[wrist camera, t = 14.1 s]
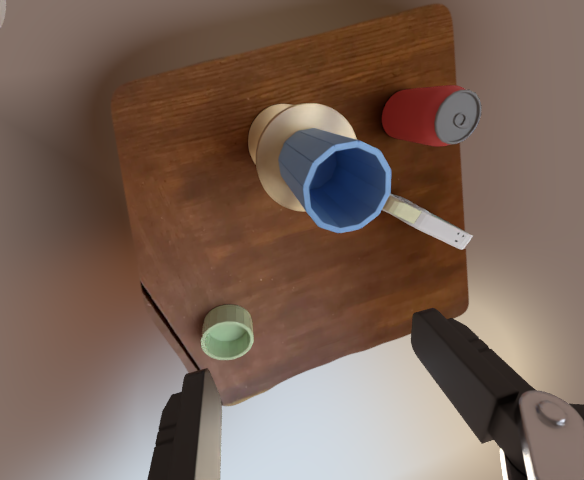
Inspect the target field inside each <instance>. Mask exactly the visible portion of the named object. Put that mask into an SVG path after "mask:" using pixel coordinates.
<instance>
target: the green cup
mask: <svg viewBox="0 0 584 480" xmlns="http://www.w3.org/2000/svg"><path fill="white" fill-rule="evenodd" d="M253 342H254V338H253V326H252V318H251V316H250V314H249V312H248V311H247V310H245V309H244V308H242V307H240V306H237V305H222V306H219V307H216V308H214V309H213V310H211V311H210V312H209V313H208V314H207V315H206V317H205V319H204V323H203V328H202V335H201V347H202V349H203V351H204V352H205V353H206V354H207V355H208V356H210V357H212V358H214V359H218V360H231V359H235V358H238V357H240V356H242V355H244V354H246V353H247V352H248V351H249V350H250V348H251V346H252V344H253Z"/></svg>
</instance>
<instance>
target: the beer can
mask: <svg viewBox="0 0 584 480" xmlns="http://www.w3.org/2000/svg"><path fill="white" fill-rule="evenodd" d="M480 116H481V103H480V99H479V97H478V96H477V95H476V93H475V92H472V91H470V90H466V89H464V88H462V87H459V86H451V85H448V86H437V87H426V88H415V89H405V90H401V91H399V92H396V93H395V94H394V95H393V96H391V97H390V99H389V100H388V101H387V103H386V104H385V107H384V109H383V113H382V124H383V128H384V130H385V132H386V133H387V134H388V135H389V136H390V137H393V138H396V139H400V140H405V141H410V142H415V143H420V144H425V145H430V146H447V145H450V144H457V143H460V142H462V141H464V140H465V139H466V138H468V137H469V136H470V135H471V134H472V133H473V131H474V130H475V128H476V127H477V125H478V123H479V119H480Z"/></svg>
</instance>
